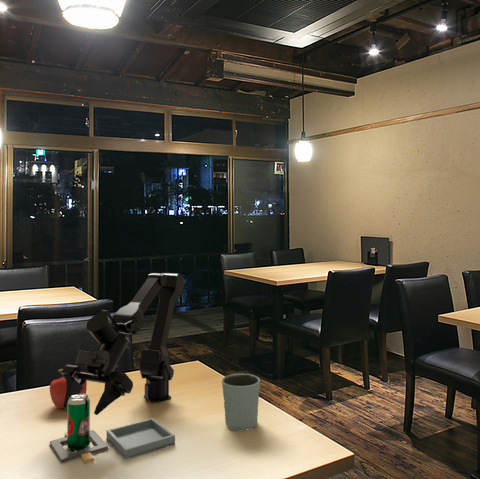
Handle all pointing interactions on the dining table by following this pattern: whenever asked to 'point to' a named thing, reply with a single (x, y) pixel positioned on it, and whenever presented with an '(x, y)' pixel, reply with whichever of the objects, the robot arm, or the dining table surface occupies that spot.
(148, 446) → the parts tray
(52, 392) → the vegetable
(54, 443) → the grey rectangular frame
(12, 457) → the dining table surface
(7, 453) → the dining table surface
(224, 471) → the dining table surface
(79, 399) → the soda can
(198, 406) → the dining table surface
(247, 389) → the grey-green cup
